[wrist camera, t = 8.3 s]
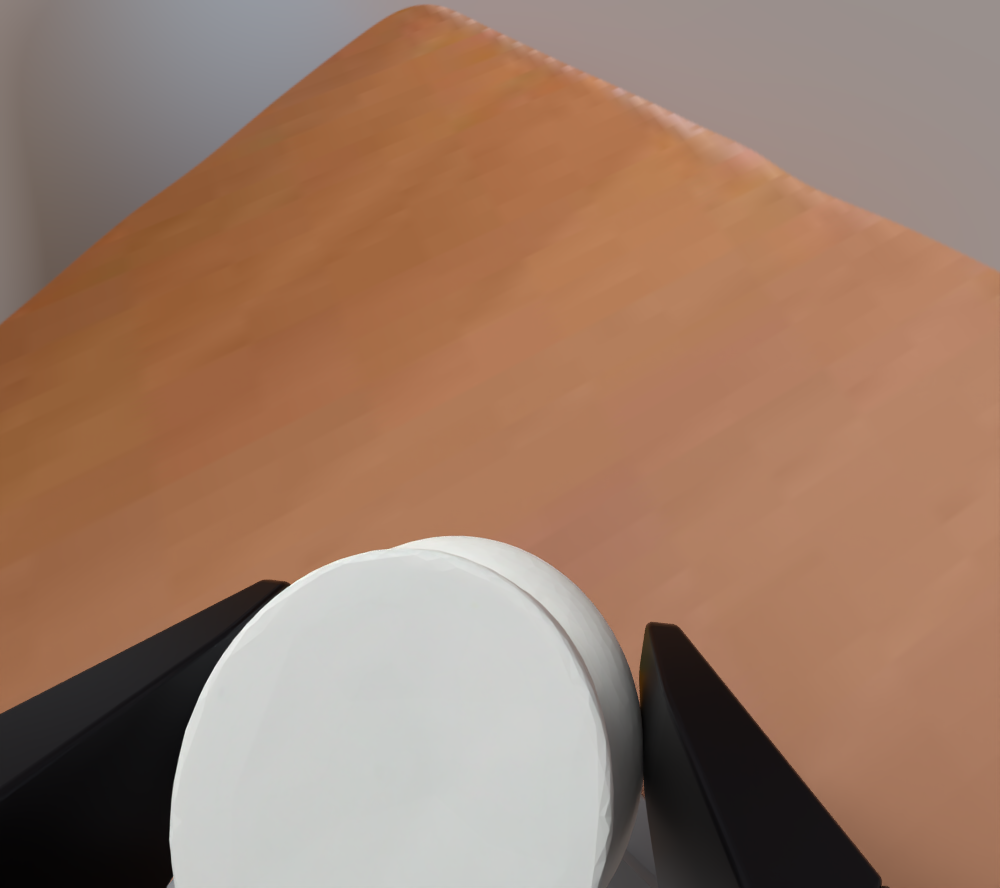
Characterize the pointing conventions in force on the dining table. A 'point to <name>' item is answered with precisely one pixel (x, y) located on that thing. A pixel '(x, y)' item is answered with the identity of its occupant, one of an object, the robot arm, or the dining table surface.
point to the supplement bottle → (414, 732)
